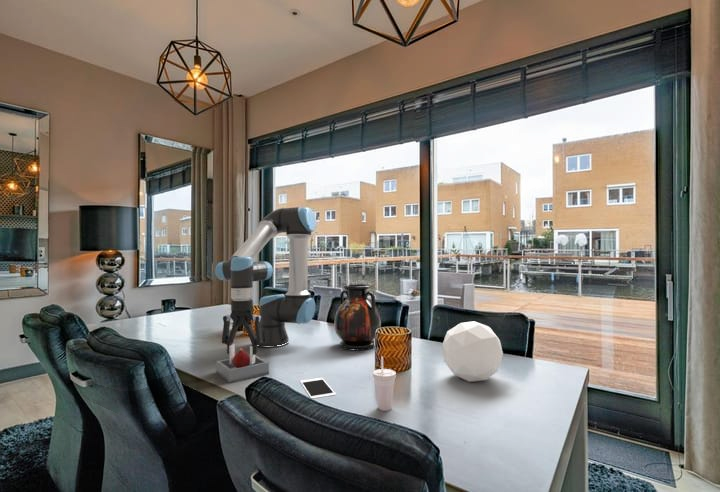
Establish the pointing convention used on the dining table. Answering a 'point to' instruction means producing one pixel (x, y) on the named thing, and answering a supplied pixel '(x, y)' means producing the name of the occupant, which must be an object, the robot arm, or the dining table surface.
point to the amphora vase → (357, 318)
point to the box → (242, 370)
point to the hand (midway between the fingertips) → (242, 363)
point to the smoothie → (384, 387)
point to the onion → (241, 359)
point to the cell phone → (317, 388)
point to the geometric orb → (472, 351)
